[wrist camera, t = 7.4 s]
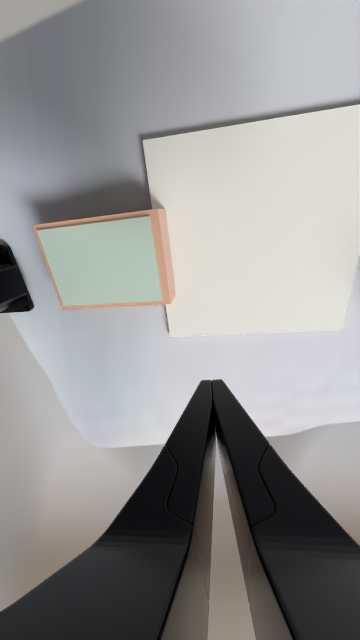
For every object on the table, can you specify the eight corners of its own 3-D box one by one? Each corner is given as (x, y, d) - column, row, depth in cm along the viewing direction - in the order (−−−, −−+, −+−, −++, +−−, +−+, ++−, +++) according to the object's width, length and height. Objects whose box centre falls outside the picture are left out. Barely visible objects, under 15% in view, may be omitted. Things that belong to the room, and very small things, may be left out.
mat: (170, 334, 23) (169, 337, 22) (144, 142, 16) (142, 140, 16) (339, 327, 21) (342, 330, 20) (389, 102, 14) (395, 98, 13)
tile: (175, 294, 20) (78, 299, 22) (165, 209, 17) (54, 224, 19) (170, 305, 18) (60, 310, 20) (157, 208, 15) (30, 225, 17)
